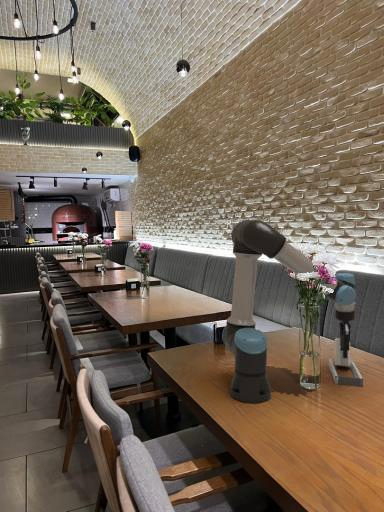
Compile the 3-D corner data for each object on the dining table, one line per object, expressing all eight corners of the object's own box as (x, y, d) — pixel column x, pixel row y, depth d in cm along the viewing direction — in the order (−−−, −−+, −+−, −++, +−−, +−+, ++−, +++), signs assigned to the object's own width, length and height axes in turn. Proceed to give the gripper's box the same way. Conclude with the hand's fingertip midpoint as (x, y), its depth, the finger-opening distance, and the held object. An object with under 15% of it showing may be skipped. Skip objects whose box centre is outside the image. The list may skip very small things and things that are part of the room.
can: (352, 366, 162) (351, 338, 164) (336, 365, 163) (336, 336, 165) (348, 366, 168) (348, 338, 171) (333, 365, 169) (333, 337, 172)
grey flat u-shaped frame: (362, 386, 147) (363, 378, 147) (335, 384, 149) (335, 376, 149) (352, 367, 166) (352, 360, 166) (328, 365, 169) (328, 359, 168)
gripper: (357, 313, 153) (357, 370, 155) (351, 307, 166) (351, 360, 167) (337, 313, 155) (337, 369, 156) (333, 306, 167) (333, 359, 169)
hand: (344, 364), depth 162 cm, fingers closed
